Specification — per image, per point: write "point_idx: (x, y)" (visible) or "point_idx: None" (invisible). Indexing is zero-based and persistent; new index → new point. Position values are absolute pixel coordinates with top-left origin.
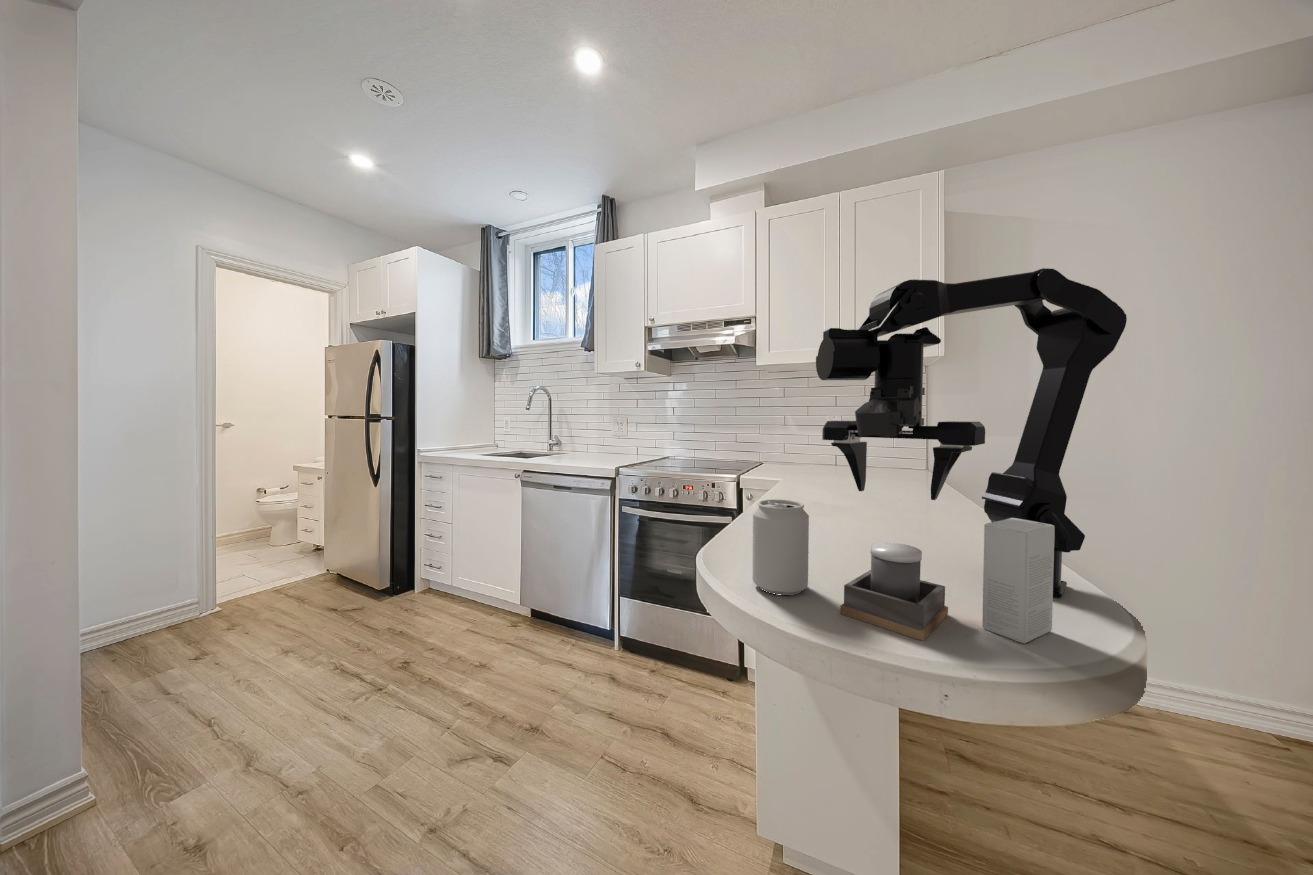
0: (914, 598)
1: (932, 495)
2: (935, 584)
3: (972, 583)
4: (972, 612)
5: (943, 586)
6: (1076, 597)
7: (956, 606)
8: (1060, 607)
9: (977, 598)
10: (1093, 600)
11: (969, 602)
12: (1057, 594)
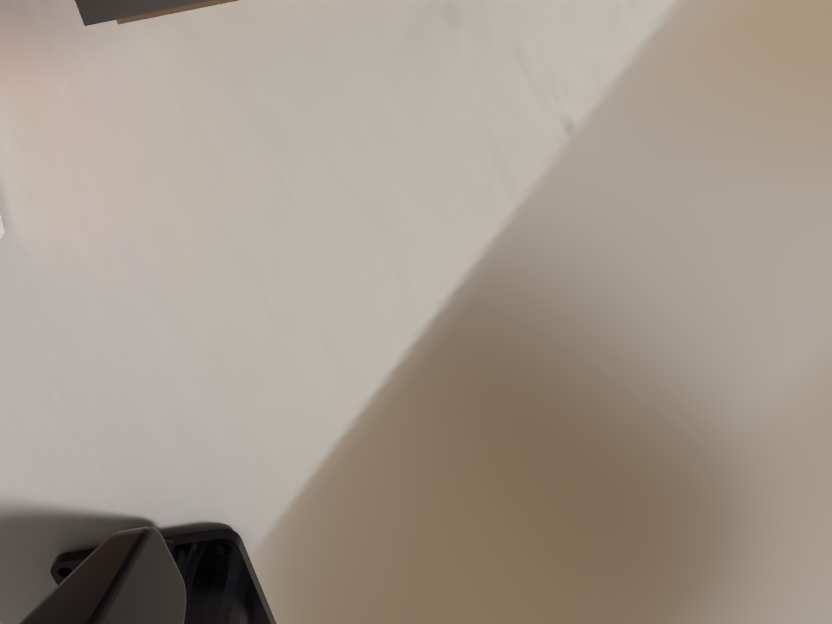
0: None
1: (113, 564)
2: (128, 3)
3: (305, 471)
4: (106, 156)
5: (86, 12)
6: None
7: (182, 165)
8: (6, 480)
9: (197, 331)
10: (8, 611)
11: (185, 260)
12: (59, 561)
